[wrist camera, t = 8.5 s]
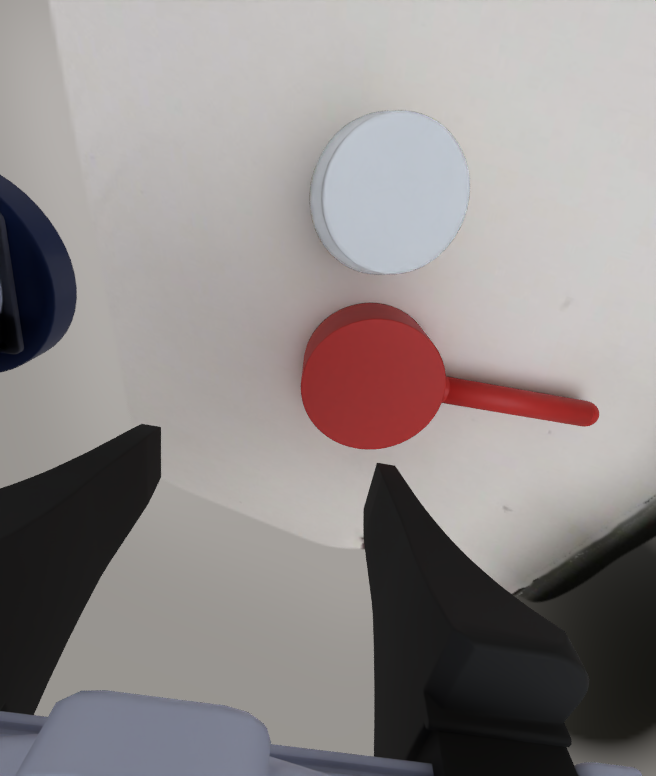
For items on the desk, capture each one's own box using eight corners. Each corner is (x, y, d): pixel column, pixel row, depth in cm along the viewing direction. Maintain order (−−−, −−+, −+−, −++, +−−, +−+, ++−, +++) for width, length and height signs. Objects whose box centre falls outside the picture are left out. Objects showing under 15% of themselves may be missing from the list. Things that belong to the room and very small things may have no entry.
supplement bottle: (371, 273, 19) (403, 321, 12) (292, 212, 18) (271, 222, 11) (437, 186, 18) (523, 176, 10) (355, 111, 17) (384, 39, 9)
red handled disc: (294, 410, 23) (290, 439, 20) (315, 290, 20) (314, 305, 17) (553, 451, 24) (582, 483, 22) (608, 346, 21) (650, 368, 19)
